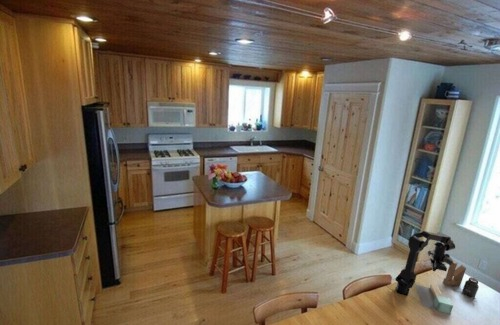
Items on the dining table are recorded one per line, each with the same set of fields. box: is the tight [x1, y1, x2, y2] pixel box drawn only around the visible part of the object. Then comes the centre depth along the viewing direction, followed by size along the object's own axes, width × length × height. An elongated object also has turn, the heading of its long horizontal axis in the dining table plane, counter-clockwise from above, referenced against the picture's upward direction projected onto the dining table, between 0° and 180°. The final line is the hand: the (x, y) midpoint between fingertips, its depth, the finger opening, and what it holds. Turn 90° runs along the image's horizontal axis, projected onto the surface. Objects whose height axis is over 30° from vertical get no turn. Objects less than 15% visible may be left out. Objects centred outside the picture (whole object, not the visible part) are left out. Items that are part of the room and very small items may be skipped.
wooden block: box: [442, 260, 467, 286], centre depth 182 cm, size 4×11×18 cm, turn 97°
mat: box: [413, 283, 437, 311], centre depth 169 cm, size 15×21×1 cm
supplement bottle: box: [461, 276, 480, 299], centre depth 173 cm, size 7×7×12 cm
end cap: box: [434, 295, 454, 315], centre depth 160 cm, size 7×6×6 cm
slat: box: [429, 283, 444, 299], centre depth 170 cm, size 4×14×4 cm, turn 161°
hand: (433, 271), depth 180 cm, fingers closed
